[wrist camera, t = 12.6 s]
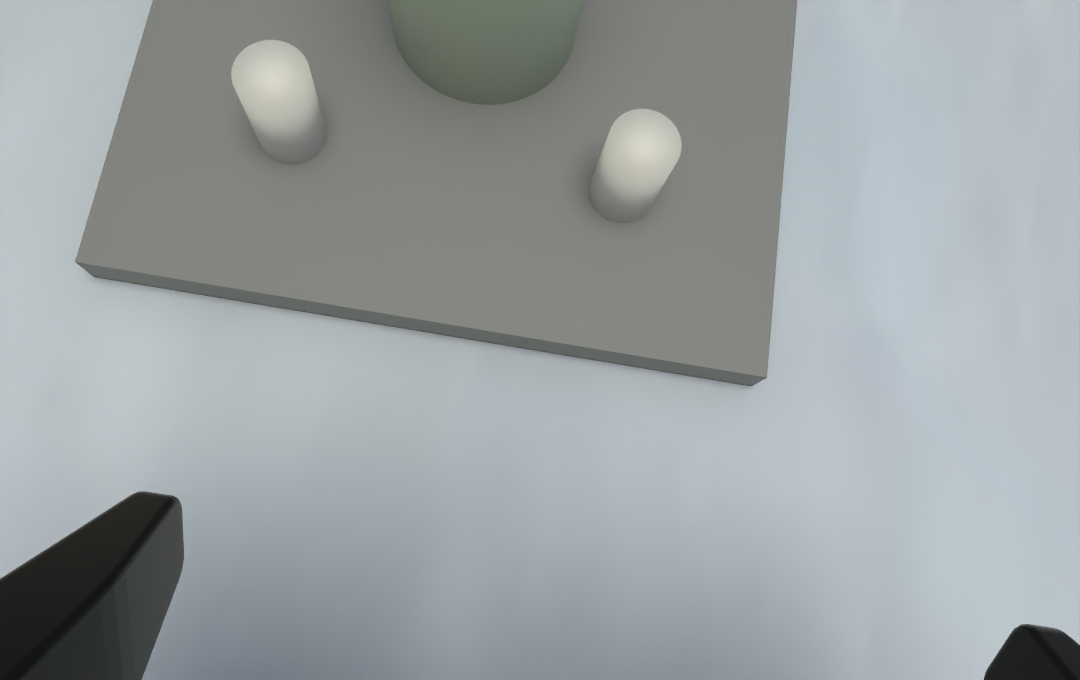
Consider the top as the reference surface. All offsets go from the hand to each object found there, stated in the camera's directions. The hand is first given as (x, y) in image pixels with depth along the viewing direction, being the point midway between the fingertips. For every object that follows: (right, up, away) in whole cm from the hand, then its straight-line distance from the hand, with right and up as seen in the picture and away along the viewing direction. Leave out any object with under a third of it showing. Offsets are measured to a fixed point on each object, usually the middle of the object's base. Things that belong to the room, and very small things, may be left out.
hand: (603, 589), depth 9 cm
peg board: (-2, +11, +17) cm, 20 cm away
